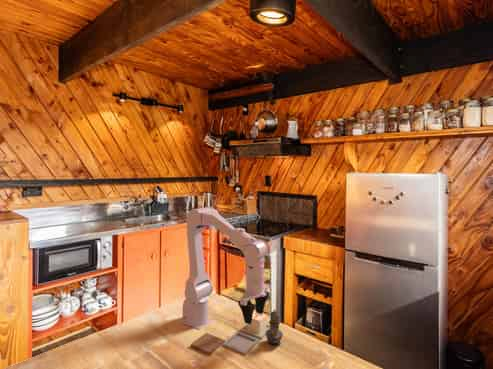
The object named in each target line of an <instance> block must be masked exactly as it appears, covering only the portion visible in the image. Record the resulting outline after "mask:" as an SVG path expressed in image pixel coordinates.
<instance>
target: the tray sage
mask: <svg viewBox="0 0 493 369" xmlns="http://www.w3.org/2000/svg"><path fill="white" fill-rule="evenodd" d="M247 328H248V324H247V323H245V324H244V325H243V326H242V327H241V328H239V332H241V333H244V334H247V335H249V336H252V337H255V338H257V339H260V340H263V339H264V338H265V337H266V334H265V332H266V331H267V330H269V329H270V324H269V323H267V322H266V329H265V330H264V331H263V332H262V333H261V334H260V335H259V334H256V333H254V332H251V331H248V330H247Z"/></svg>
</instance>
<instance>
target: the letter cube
mask: <svg viewBox="0 0 493 369" xmlns="http://www.w3.org/2000/svg"><path fill="white" fill-rule="evenodd" d="M266 323H267V314H264V313H262V314H259V313H256V310H254V311H253V316H252V322H251V324H248V328H247V330H248V331H251V332H254V333H256V334H259V335H260V334H261V333H262V332H263V331H264V330H265V329H266Z"/></svg>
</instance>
